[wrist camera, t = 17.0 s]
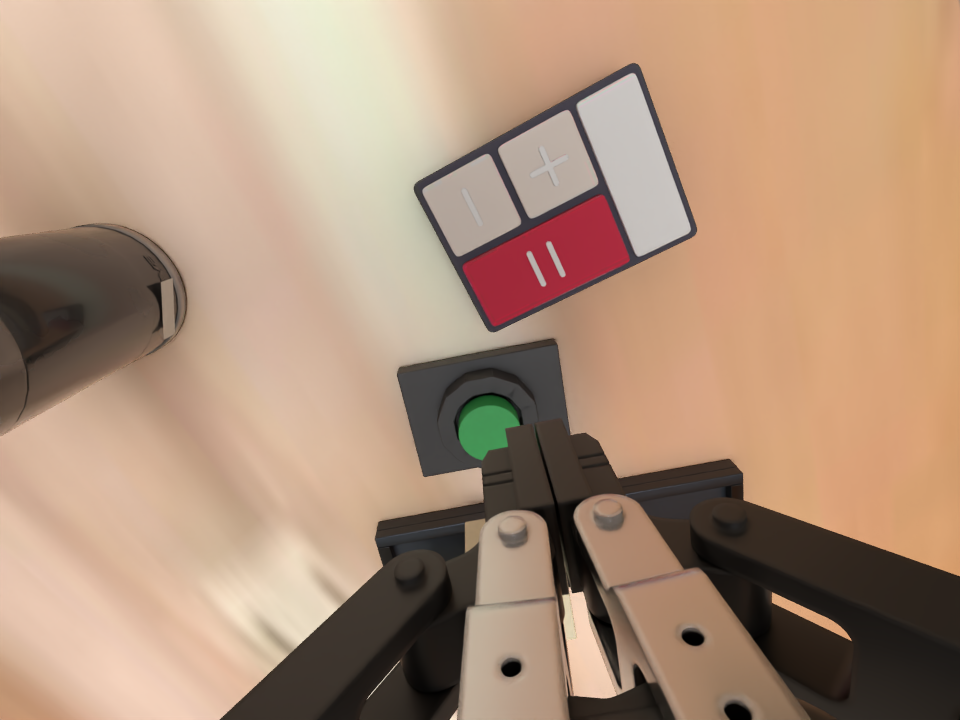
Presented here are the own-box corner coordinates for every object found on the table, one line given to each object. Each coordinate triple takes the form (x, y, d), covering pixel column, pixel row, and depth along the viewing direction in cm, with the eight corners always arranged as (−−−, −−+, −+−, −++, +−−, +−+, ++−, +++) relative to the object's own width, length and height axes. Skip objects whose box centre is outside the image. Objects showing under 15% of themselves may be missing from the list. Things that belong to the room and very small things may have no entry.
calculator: (408, 186, 31) (642, 56, 29) (417, 183, 35) (623, 69, 33) (490, 338, 35) (704, 235, 32) (489, 320, 39) (680, 227, 36)
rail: (401, 597, 47) (399, 616, 45) (378, 521, 44) (374, 538, 42) (731, 539, 46) (744, 557, 44) (729, 458, 43) (743, 473, 41)
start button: (465, 453, 39) (465, 466, 37) (453, 400, 37) (452, 411, 35) (522, 442, 38) (525, 455, 37) (513, 389, 37) (515, 400, 35)
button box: (424, 468, 42) (421, 490, 39) (398, 367, 39) (393, 383, 36) (569, 441, 42) (577, 462, 39) (554, 338, 39) (561, 351, 36)
